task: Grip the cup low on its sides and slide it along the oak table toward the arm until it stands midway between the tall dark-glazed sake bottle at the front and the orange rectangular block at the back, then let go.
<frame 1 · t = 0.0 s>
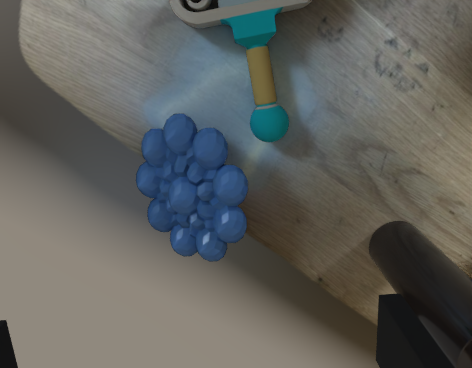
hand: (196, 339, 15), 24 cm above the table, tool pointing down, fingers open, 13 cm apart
grapes: (155, 124, 35), point 1 cm above the table
dagger: (273, 144, 35), point 2 cm above the table
sake bottle: (395, 245, 41), on the table
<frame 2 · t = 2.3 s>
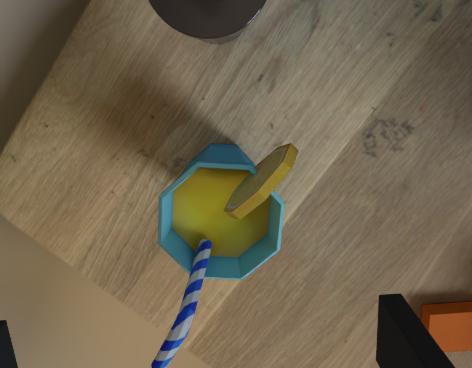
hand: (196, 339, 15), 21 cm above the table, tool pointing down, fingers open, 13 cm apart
cup: (217, 182, 35), on the table
orange rectangular block: (447, 321, 40), on the table
sake bottle: (216, 7, 31), on the table
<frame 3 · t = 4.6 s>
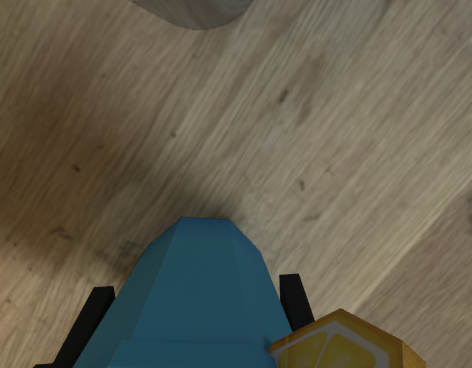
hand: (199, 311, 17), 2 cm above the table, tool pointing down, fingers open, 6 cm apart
cup: (194, 283, 20), on the table, touching gripper
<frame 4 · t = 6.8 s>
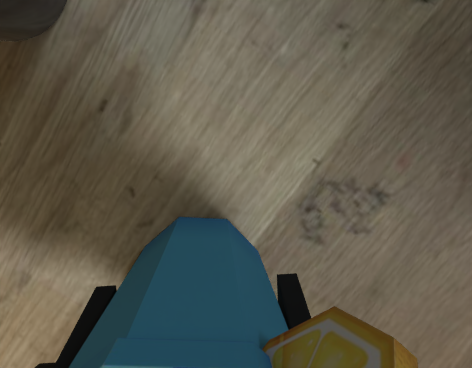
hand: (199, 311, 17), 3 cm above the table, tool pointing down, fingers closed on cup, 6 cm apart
cup: (193, 283, 20), on the table, touching gripper
when the fingers open (2 cm above the table, at t = 8.4 s): cup stays where it is, on the table.
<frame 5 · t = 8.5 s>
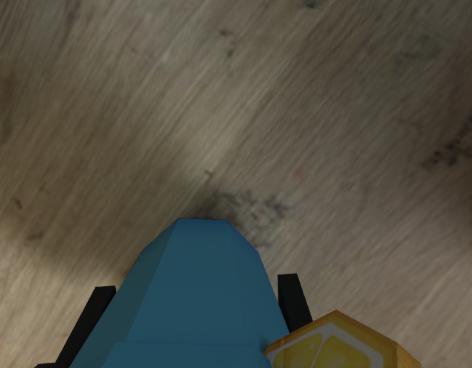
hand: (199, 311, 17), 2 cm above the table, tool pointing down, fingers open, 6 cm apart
cup: (193, 284, 20), on the table
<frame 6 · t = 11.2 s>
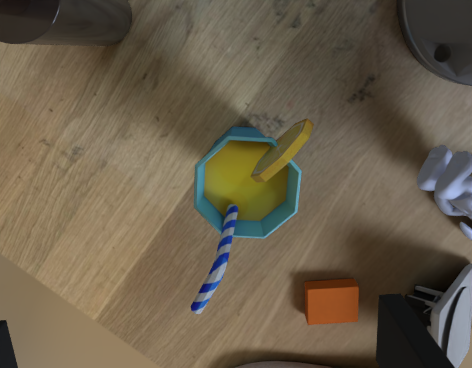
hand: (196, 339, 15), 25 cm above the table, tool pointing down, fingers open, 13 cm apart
light switch: (414, 355, 39), point 6 cm above the table
toy figurine: (435, 171, 36), point 4 cm above the table
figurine: (316, 345, 49), on the table
cup: (237, 161, 40), on the table
orange rectangular block: (329, 297, 44), on the table
sake bottle: (101, 14, 36), on the table
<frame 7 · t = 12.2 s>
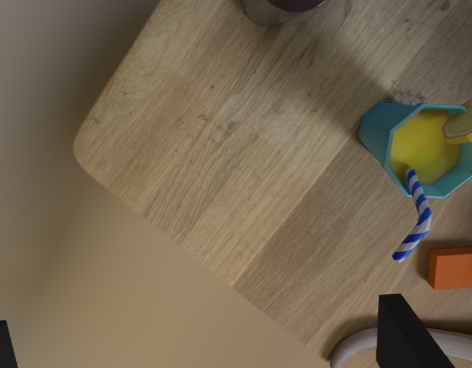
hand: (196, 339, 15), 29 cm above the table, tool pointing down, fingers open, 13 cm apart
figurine: (428, 313, 52), on the table
cup: (378, 136, 43), on the table
orange rectangular block: (451, 264, 47), on the table
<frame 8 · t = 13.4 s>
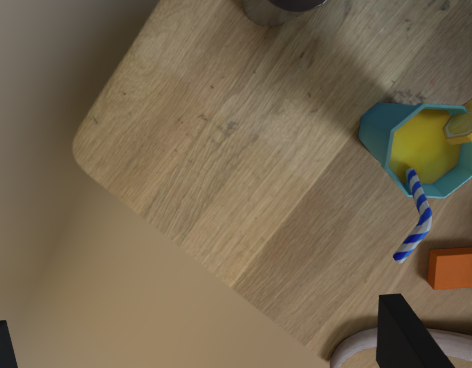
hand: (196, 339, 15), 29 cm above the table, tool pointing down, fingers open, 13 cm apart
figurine: (427, 313, 52), on the table
cup: (378, 136, 43), on the table
orange rectangular block: (451, 264, 47), on the table
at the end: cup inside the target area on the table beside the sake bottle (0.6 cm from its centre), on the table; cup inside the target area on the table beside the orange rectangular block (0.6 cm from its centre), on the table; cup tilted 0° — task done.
